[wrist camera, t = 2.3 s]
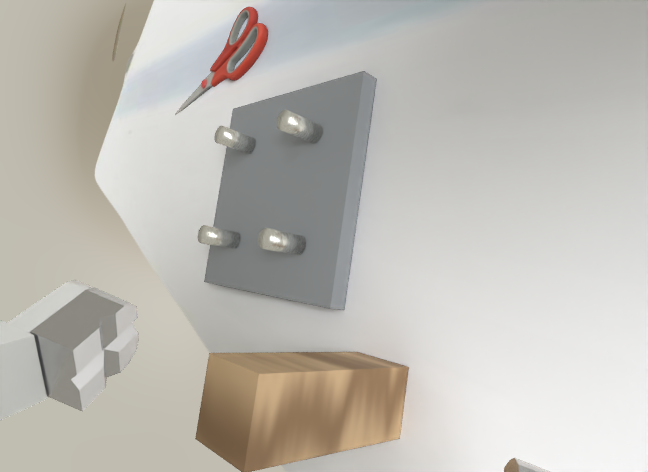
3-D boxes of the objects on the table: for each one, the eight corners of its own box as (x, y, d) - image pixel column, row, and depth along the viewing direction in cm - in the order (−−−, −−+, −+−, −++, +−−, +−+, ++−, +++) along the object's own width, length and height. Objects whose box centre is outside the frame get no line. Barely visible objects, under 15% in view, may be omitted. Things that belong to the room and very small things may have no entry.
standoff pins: (247, 138, 45) (216, 127, 43) (324, 123, 38) (291, 107, 35) (229, 248, 44) (196, 242, 42) (304, 255, 37) (269, 249, 34)
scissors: (171, 116, 64) (161, 113, 63) (262, -3, 52) (251, -10, 51) (177, 161, 60) (166, 157, 59) (275, 44, 48) (264, 38, 47)
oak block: (356, 352, 33) (209, 353, 25) (408, 367, 30) (259, 373, 22) (348, 416, 33) (195, 438, 25) (399, 438, 30) (243, 473, 21)
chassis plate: (245, 113, 49) (233, 109, 48) (376, 78, 36) (364, 70, 35) (217, 283, 48) (204, 281, 47) (344, 309, 35) (330, 308, 34)
